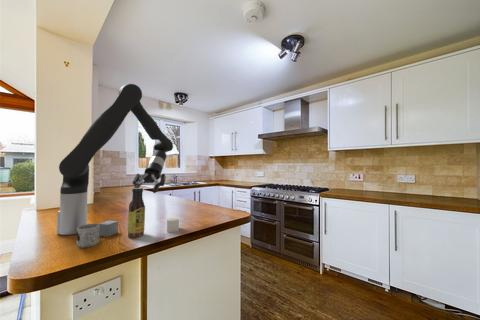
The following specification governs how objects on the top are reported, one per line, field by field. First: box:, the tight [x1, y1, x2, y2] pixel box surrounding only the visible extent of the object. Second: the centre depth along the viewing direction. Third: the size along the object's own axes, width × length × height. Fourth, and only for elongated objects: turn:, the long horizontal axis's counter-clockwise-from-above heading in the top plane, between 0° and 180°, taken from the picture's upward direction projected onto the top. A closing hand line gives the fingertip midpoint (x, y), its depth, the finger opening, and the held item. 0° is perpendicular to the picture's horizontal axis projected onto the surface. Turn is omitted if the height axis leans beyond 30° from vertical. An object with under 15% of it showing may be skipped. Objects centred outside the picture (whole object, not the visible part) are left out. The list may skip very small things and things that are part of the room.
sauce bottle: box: [127, 187, 146, 239], centre depth 82 cm, size 6×6×20 cm
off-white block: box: [166, 216, 180, 233], centre depth 90 cm, size 5×5×5 cm
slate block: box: [98, 220, 119, 238], centre depth 84 cm, size 5×5×5 cm
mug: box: [76, 223, 100, 249], centre depth 72 cm, size 10×7×7 cm
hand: (144, 192), depth 90 cm, fingers open, 8 cm apart
